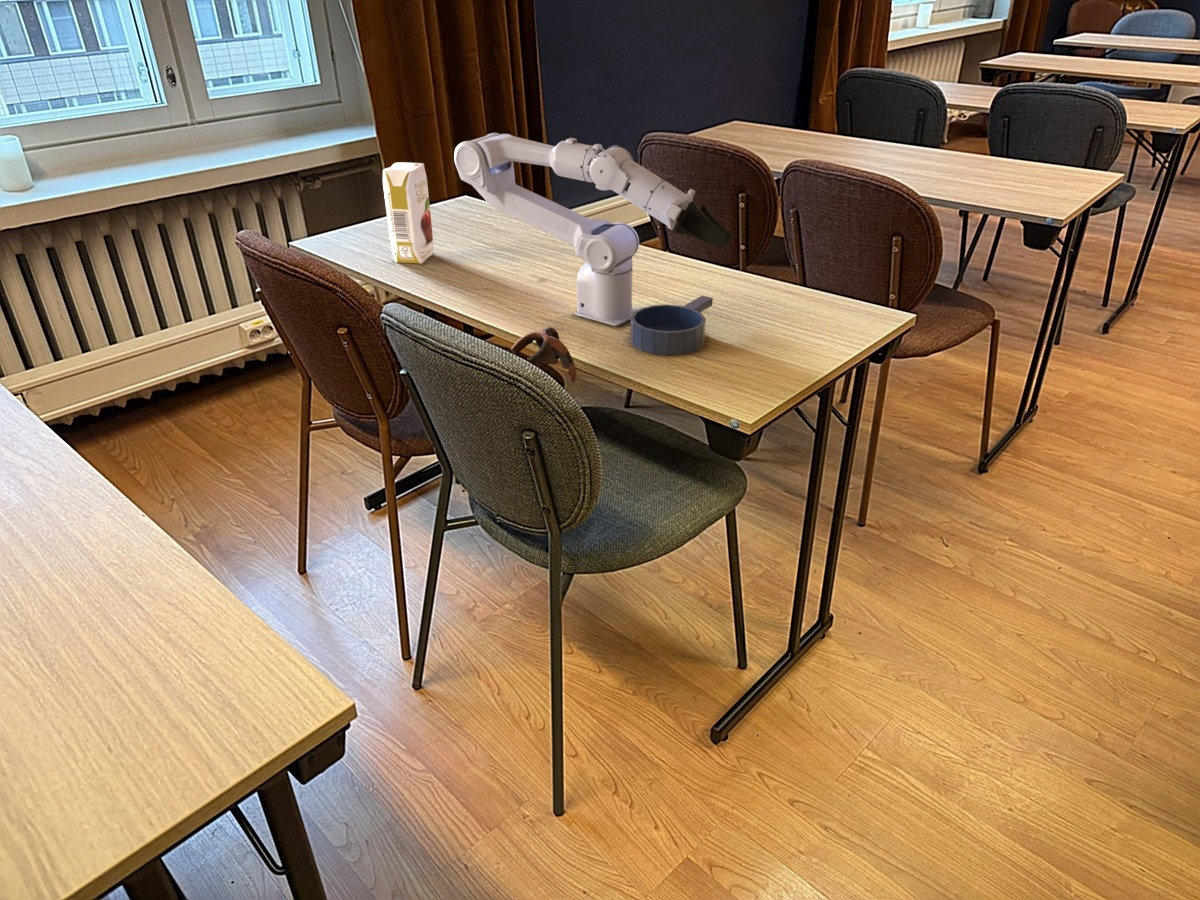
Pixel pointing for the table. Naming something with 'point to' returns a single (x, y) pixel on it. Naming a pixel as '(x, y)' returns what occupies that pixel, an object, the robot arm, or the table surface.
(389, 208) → the juice carton
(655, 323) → the blue measuring scoop
